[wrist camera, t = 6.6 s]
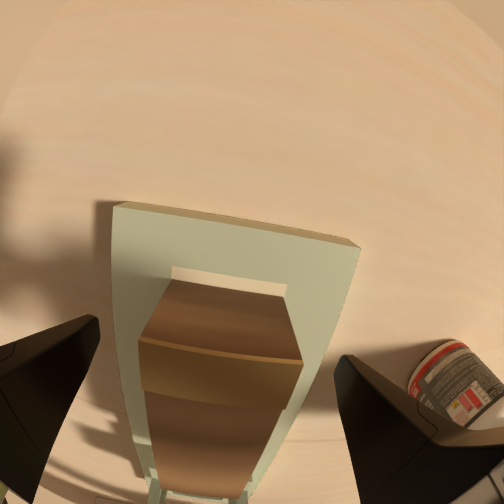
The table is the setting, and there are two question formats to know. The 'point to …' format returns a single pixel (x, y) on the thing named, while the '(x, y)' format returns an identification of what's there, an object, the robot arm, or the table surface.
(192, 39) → the table surface
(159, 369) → the brown rectangular block
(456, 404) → the pill bottle
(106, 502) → the red striped block
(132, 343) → the tunnel deck
